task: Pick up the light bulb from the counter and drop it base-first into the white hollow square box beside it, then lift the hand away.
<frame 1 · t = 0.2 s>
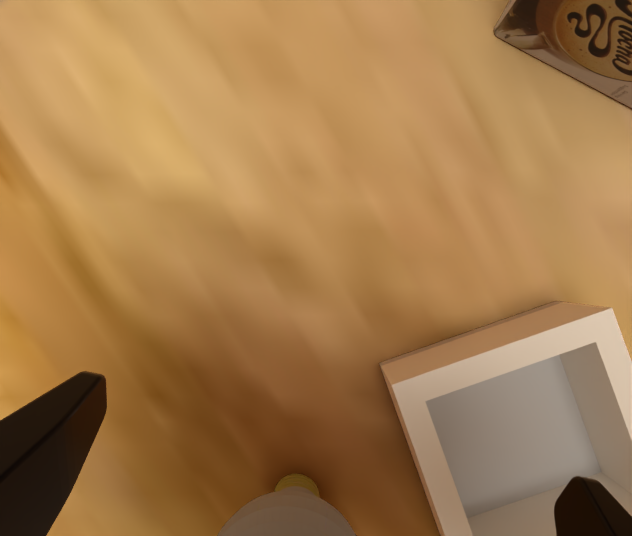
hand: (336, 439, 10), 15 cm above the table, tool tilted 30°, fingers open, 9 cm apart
coffee box: (602, 24, 25), on the table
light bulb: (298, 488, 25), on the table
white hollow square box: (498, 420, 24), on the table
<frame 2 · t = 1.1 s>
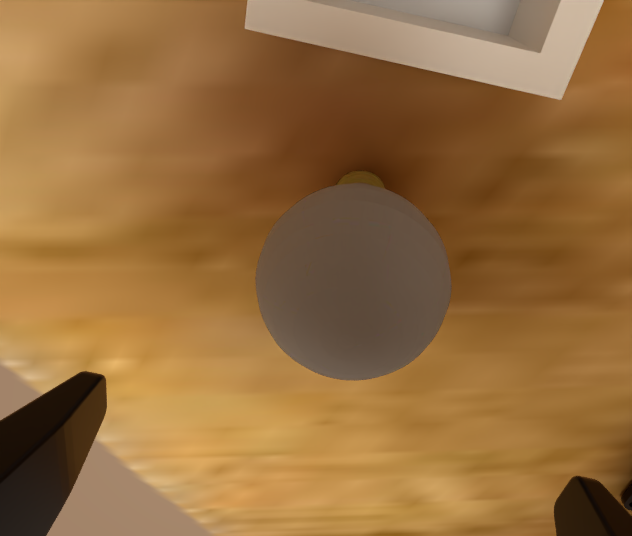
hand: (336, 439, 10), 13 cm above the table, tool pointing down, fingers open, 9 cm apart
light bulb: (360, 186, 21), on the table
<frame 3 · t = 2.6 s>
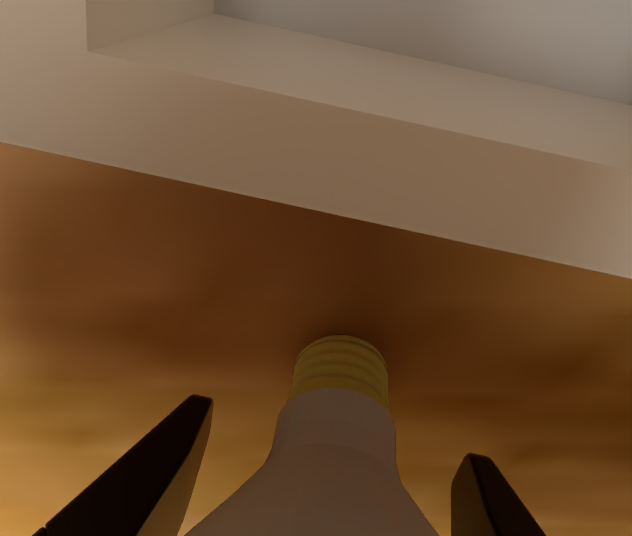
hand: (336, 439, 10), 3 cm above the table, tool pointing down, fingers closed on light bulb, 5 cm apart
light bulb: (343, 348, 12), on the table, touching gripper
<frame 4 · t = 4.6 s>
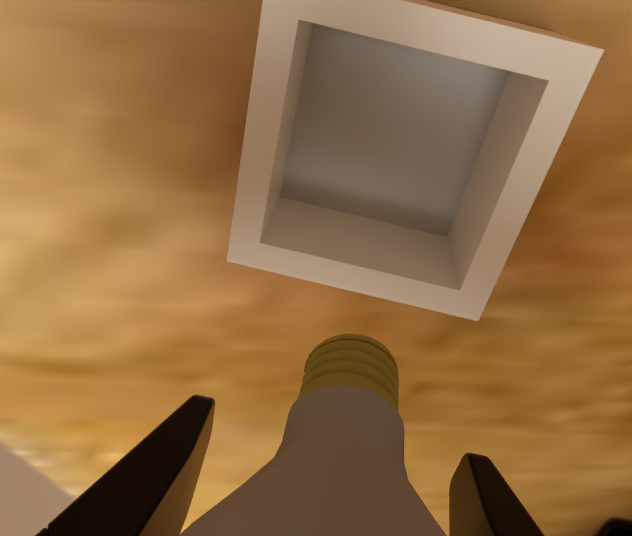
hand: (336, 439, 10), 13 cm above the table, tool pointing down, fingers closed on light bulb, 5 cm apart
light bulb: (355, 347, 12), point 10 cm above the table, touching gripper
white hollow square box: (386, 128, 20), on the table
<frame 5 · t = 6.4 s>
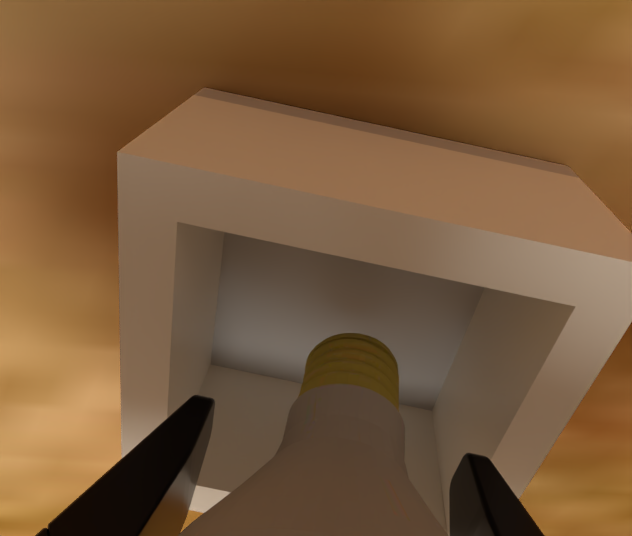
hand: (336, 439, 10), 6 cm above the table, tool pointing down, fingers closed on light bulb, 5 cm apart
light bulb: (355, 346, 12), point 3 cm above the table, touching gripper
white hollow square box: (346, 280, 15), on the table
when the fingers open (5 cm above the table, at t = 6.8 s): light bulb drops 2 cm, resting on white hollow square box.
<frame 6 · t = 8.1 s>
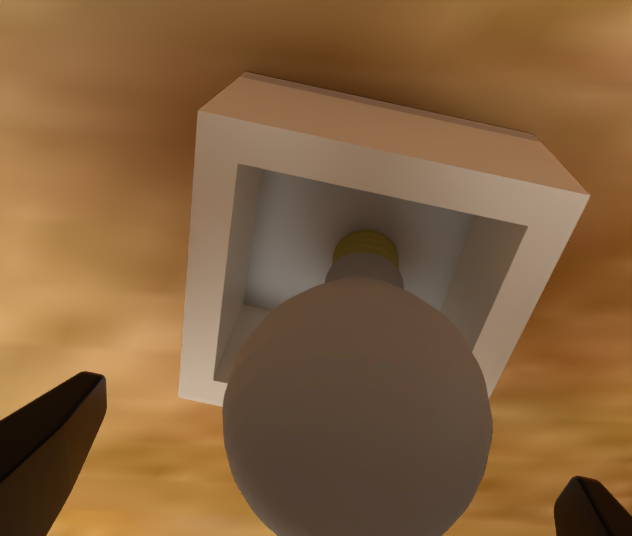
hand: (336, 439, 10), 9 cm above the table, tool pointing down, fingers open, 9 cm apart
light bulb: (366, 245, 17), point 1 cm above the table, touching white hollow square box
white hollow square box: (357, 232, 18), on the table
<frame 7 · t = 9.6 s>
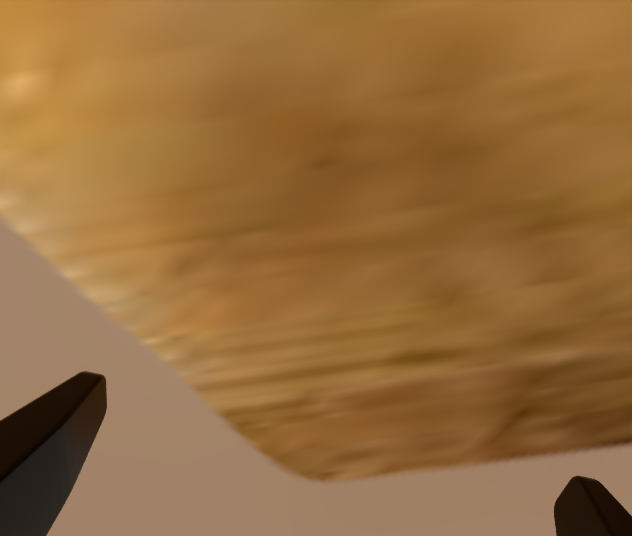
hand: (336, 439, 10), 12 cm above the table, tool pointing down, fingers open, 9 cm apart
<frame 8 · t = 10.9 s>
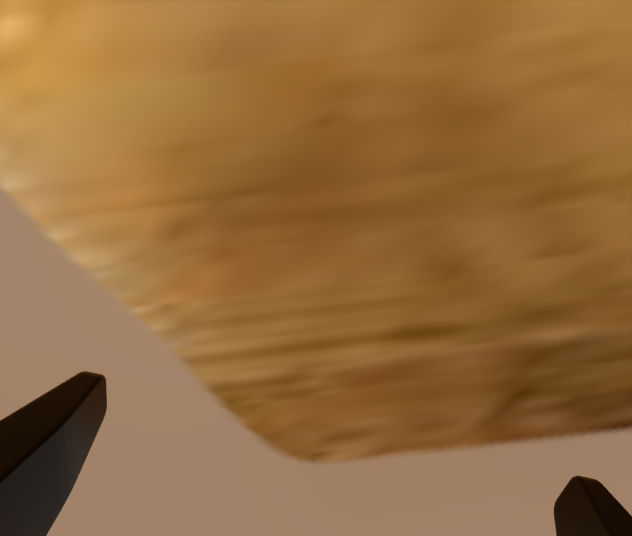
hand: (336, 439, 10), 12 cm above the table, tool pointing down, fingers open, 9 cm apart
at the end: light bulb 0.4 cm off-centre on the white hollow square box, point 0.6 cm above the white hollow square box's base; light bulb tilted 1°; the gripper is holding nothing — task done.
